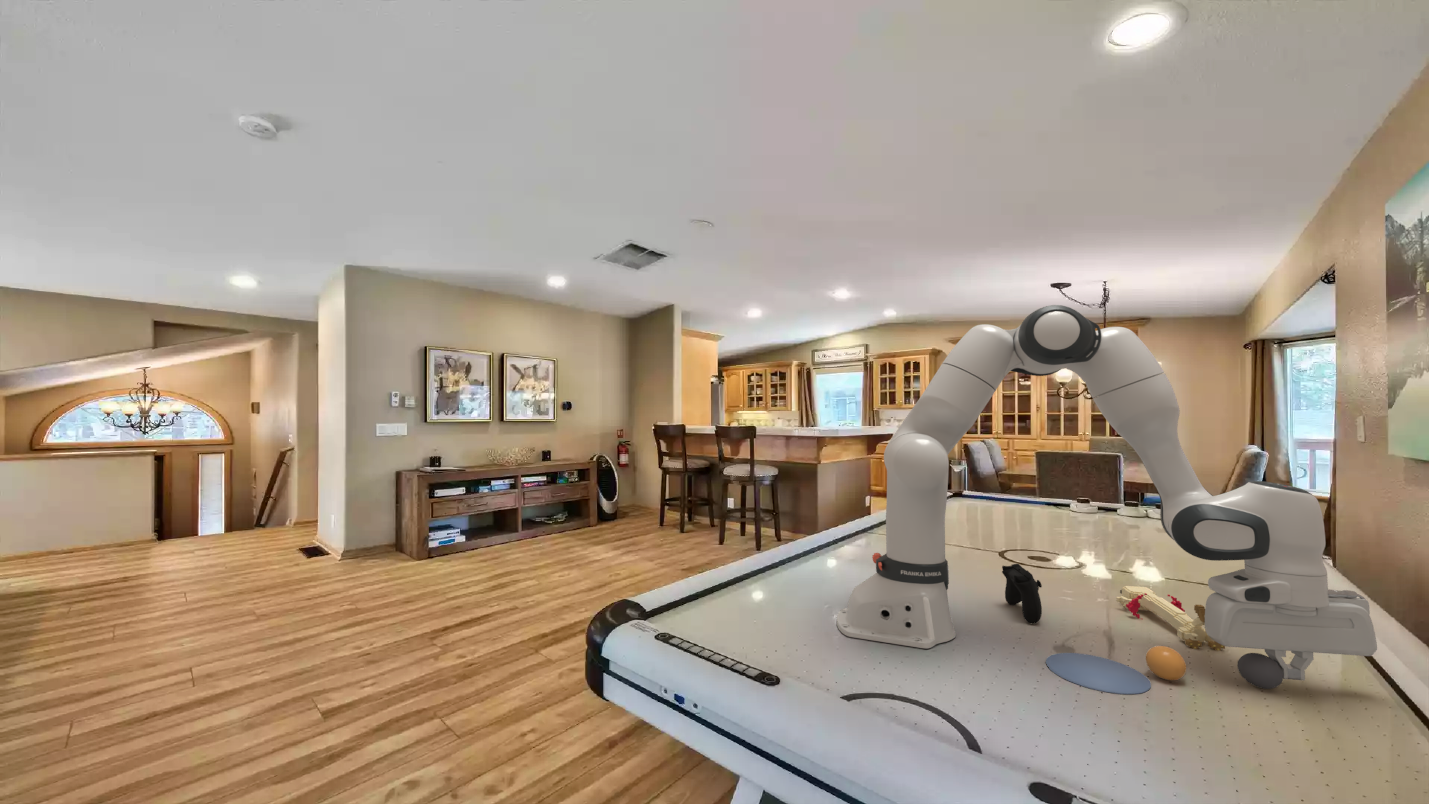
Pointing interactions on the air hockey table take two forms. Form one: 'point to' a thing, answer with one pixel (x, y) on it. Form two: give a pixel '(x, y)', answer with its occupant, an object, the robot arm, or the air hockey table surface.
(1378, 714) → the air hockey table surface
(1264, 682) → the dark grey ball
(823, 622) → the air hockey table surface
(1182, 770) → the air hockey table surface
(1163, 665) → the object ball
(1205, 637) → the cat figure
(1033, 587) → the gaming controller
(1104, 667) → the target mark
